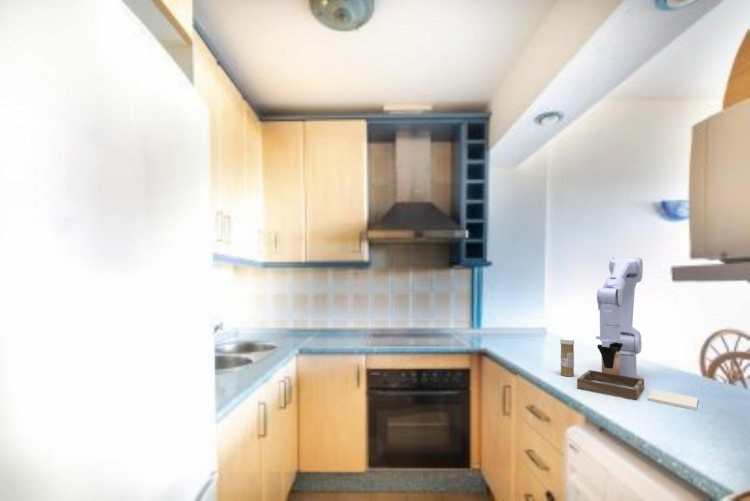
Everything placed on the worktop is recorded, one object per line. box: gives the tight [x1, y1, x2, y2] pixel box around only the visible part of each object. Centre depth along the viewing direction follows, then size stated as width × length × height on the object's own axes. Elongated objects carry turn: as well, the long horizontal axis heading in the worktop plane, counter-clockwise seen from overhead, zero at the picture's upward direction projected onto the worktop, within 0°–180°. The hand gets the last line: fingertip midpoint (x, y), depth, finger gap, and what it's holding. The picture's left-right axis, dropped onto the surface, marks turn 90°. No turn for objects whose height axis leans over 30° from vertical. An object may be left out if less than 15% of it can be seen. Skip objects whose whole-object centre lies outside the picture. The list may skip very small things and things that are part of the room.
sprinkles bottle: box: [559, 337, 575, 377], centre depth 139 cm, size 5×5×13 cm
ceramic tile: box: [647, 389, 699, 411], centre depth 112 cm, size 11×11×1 cm
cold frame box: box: [576, 369, 645, 401], centre depth 123 cm, size 16×16×3 cm
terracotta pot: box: [601, 351, 621, 375], centre depth 124 cm, size 6×6×7 cm
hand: (610, 366), depth 124 cm, fingers closed on terracotta pot, 5 cm apart
